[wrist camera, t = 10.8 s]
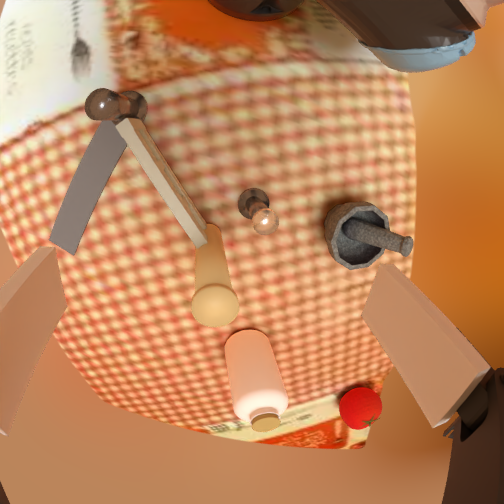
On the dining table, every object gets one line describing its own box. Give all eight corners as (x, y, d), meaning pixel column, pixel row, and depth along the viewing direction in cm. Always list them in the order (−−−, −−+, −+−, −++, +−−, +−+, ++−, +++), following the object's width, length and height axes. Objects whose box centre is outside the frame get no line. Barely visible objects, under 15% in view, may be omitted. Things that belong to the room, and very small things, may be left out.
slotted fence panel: (122, 131, 33) (64, 138, 17) (148, 113, 33) (106, 103, 17) (203, 254, 42) (208, 334, 26) (228, 239, 42) (247, 313, 26)
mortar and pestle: (312, 253, 46) (344, 292, 35) (313, 195, 42) (351, 221, 31) (372, 245, 48) (412, 278, 37) (376, 192, 44) (423, 215, 33)
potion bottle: (235, 321, 49) (253, 405, 33) (276, 333, 52) (306, 411, 36) (216, 354, 52) (227, 435, 35) (256, 363, 54) (276, 440, 38)
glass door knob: (249, 182, 40) (262, 196, 32) (274, 199, 41) (292, 217, 34) (231, 207, 41) (239, 228, 33) (256, 223, 42) (269, 247, 35)
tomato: (328, 409, 67) (342, 440, 57) (340, 384, 63) (357, 417, 53) (362, 401, 69) (377, 430, 59) (375, 377, 65) (394, 407, 55)
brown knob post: (124, 85, 31) (94, 70, 20) (154, 102, 33) (135, 92, 22) (103, 118, 32) (67, 117, 22) (133, 135, 34) (106, 139, 23)
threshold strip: (118, 95, 31) (117, 95, 31) (147, 112, 33) (146, 111, 33) (50, 239, 37) (49, 240, 37) (74, 254, 39) (73, 255, 39)
